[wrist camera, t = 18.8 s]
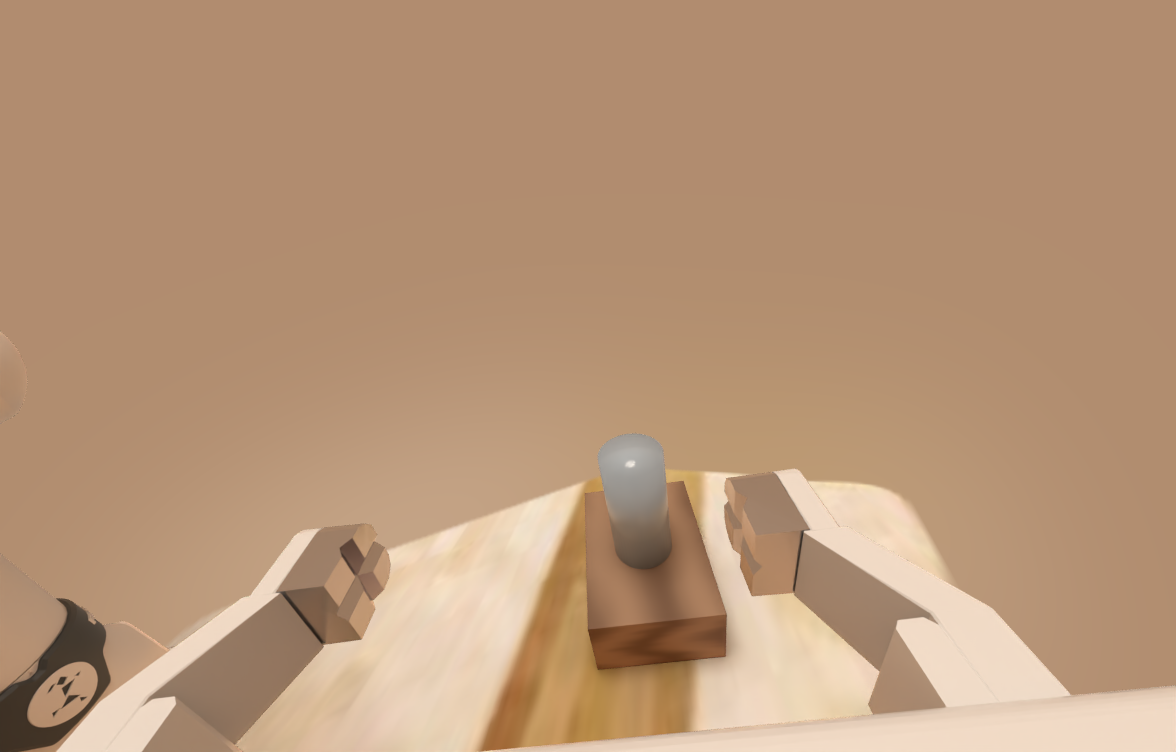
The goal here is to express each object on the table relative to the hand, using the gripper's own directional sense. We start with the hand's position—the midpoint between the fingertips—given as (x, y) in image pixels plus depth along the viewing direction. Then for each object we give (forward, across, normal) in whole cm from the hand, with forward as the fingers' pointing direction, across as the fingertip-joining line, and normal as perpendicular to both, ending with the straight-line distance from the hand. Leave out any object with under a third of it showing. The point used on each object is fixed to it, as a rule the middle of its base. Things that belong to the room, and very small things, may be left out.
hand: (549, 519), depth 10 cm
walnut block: (+20, -3, +32) cm, 38 cm away
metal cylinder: (+20, -3, +26) cm, 33 cm away
